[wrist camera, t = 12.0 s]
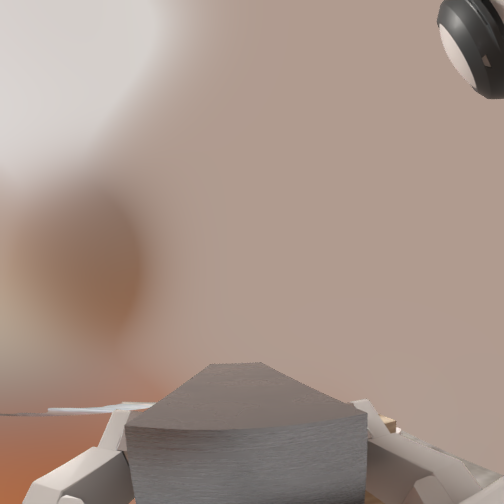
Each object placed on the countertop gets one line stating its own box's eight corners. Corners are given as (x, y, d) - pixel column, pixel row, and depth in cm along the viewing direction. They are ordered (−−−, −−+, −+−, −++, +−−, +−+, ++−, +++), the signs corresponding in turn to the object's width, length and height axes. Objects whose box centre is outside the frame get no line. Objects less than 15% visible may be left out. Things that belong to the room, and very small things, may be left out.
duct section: (360, 541, 3) (367, 412, 4) (148, 555, 3) (124, 424, 4) (262, 398, 22) (261, 362, 23) (212, 400, 22) (210, 364, 23)
